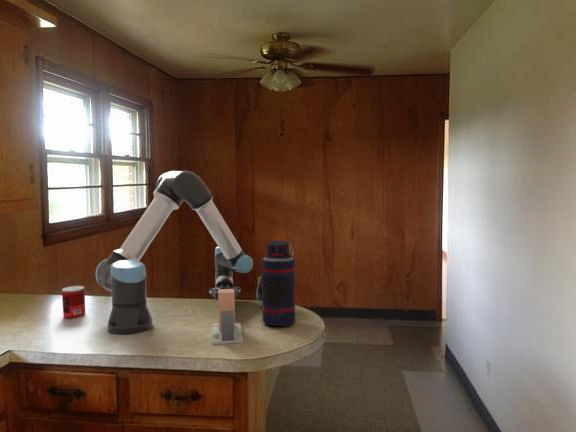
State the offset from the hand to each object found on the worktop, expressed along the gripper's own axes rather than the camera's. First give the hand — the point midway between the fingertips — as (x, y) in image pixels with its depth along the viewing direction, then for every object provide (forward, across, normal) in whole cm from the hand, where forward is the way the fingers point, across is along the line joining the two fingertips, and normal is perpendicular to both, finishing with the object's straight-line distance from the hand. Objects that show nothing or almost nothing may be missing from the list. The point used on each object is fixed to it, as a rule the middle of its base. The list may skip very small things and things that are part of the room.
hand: (225, 301), depth 173 cm
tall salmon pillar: (+12, 0, -6) cm, 13 cm away
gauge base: (+17, 0, -7) cm, 18 cm away
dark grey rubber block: (+23, 0, -7) cm, 24 cm away
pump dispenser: (-16, -18, -8) cm, 25 cm away
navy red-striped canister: (+6, -19, -8) cm, 22 cm away
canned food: (-16, +58, -7) cm, 61 cm away
